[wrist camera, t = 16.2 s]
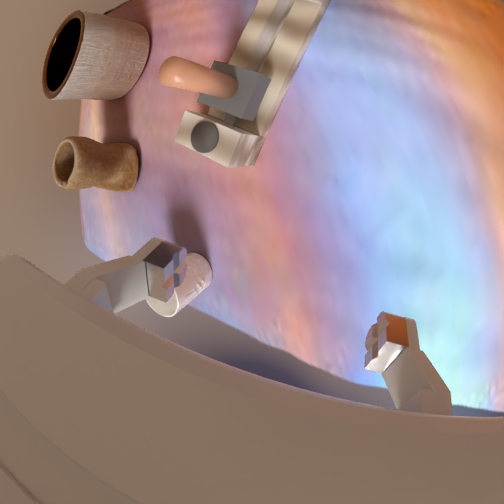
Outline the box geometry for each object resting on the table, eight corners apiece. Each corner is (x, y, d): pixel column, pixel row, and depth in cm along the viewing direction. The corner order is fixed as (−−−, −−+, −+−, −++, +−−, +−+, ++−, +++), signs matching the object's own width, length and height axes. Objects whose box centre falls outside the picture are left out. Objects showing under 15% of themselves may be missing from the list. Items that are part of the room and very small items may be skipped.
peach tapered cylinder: (231, 68, 32) (158, 39, 20) (275, 81, 30) (210, 47, 18) (215, 105, 34) (138, 92, 23) (257, 122, 33) (185, 108, 21)
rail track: (279, -21, 25) (258, -45, 19) (335, -10, 23) (322, -38, 17) (205, 141, 40) (172, 141, 33) (253, 165, 37) (225, 167, 31)
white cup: (187, 240, 47) (146, 259, 39) (222, 267, 46) (184, 293, 37) (175, 272, 51) (137, 294, 43) (206, 298, 50) (170, 326, 41)
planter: (108, 35, 41) (52, 27, 28) (161, 15, 35) (95, -5, 22) (96, 104, 48) (36, 106, 35) (145, 96, 42) (72, 92, 29)
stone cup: (145, 133, 44) (75, 137, 32) (142, 195, 49) (75, 213, 37) (102, 133, 50) (42, 138, 37) (100, 184, 55) (43, 198, 42)
